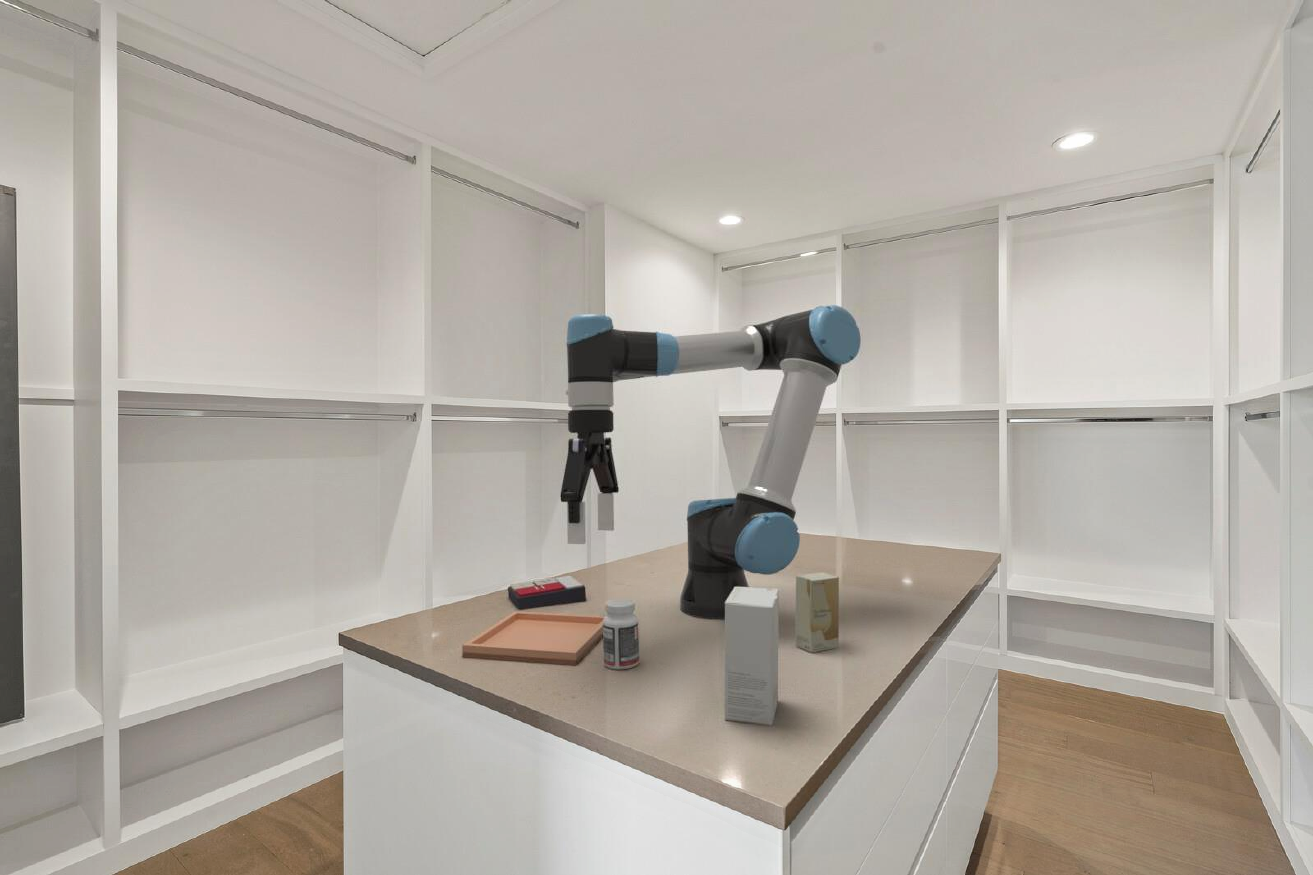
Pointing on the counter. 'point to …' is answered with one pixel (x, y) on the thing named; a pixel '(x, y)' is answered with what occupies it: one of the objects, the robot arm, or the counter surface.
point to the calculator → (546, 592)
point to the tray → (537, 638)
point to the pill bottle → (620, 635)
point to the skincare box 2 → (817, 611)
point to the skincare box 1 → (751, 655)
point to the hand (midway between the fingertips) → (592, 536)
